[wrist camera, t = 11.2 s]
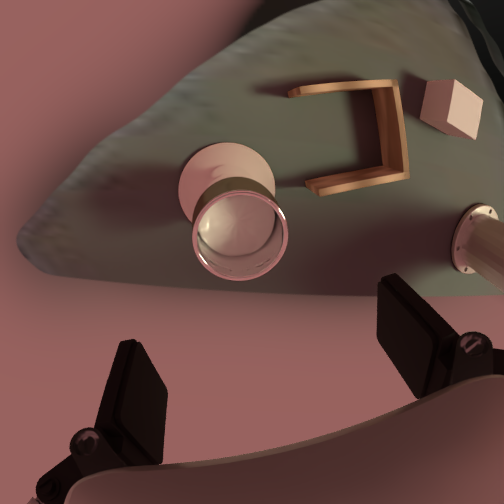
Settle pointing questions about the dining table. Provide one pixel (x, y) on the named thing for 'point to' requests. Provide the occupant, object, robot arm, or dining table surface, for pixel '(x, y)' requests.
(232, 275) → the beer glass
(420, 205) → the dining table surface
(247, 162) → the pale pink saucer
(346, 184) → the wooden u-shaped bracket
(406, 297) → the robot arm
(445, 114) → the pale pink cube
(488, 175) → the dining table surface
